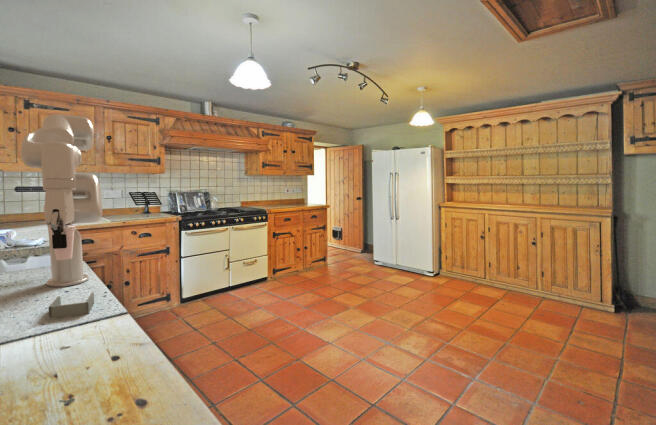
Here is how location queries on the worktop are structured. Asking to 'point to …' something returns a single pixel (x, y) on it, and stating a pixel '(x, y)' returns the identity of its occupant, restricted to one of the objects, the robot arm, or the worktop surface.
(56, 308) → the bay
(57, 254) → the smoothie
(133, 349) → the worktop surface
